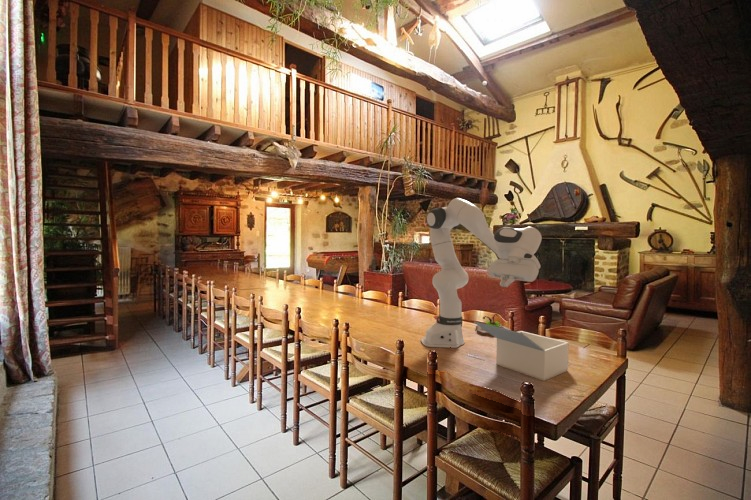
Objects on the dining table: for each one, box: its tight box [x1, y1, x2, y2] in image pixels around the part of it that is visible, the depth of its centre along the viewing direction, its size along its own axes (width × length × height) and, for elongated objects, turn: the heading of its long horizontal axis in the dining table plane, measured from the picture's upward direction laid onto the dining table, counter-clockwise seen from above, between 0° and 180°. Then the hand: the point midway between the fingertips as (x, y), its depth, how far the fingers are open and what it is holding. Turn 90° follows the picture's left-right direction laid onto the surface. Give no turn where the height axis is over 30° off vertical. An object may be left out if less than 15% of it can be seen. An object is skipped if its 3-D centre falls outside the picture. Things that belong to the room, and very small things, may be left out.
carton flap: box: [473, 320, 545, 351], centre depth 143 cm, size 18×22×1 cm
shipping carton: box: [496, 330, 570, 382], centre depth 154 cm, size 18×22×12 cm
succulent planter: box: [475, 313, 512, 338], centre depth 209 cm, size 20×20×11 cm
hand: (503, 285), depth 140 cm, fingers closed
